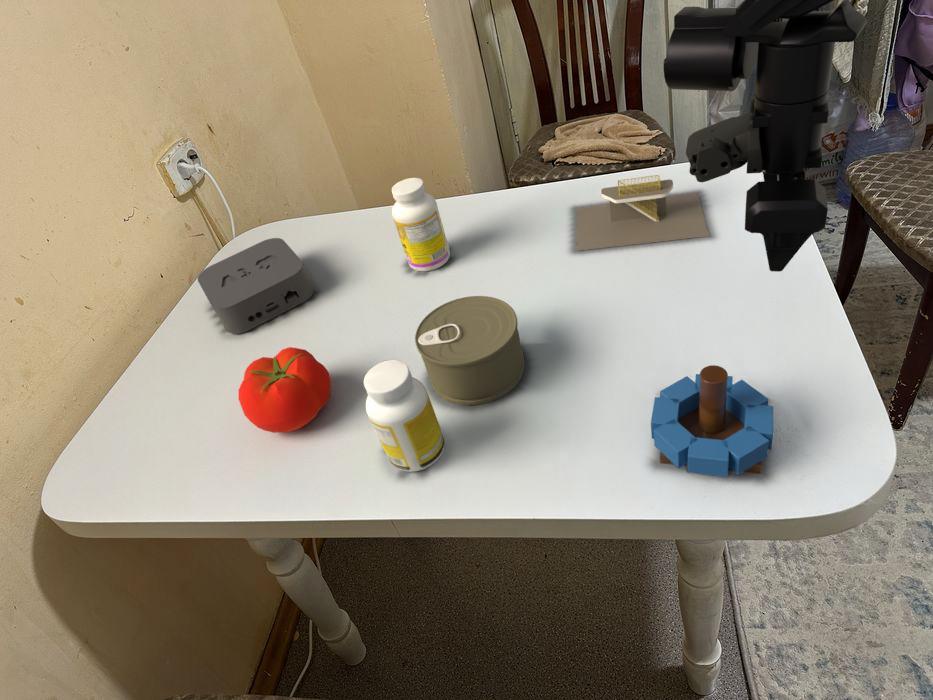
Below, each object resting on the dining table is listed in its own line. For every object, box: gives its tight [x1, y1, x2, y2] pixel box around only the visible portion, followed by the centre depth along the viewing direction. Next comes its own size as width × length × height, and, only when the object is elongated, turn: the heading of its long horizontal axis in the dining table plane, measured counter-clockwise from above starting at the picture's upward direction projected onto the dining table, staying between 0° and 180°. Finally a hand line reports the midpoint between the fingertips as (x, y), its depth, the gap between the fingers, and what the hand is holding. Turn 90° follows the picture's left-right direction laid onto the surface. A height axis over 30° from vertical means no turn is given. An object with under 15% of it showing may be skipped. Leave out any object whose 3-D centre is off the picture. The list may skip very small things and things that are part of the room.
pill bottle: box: [363, 359, 446, 473], centre depth 69 cm, size 6×6×12 cm
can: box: [414, 295, 526, 406], centre depth 78 cm, size 12×12×7 cm
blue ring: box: [650, 373, 775, 478], centre depth 64 cm, size 11×11×2 cm
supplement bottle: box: [391, 177, 451, 272], centre depth 97 cm, size 7×7×13 cm
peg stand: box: [659, 364, 763, 475], centre depth 63 cm, size 9×9×8 cm
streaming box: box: [197, 237, 315, 335], centre depth 102 cm, size 14×14×5 cm
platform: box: [576, 174, 710, 252], centre depth 95 cm, size 12×18×7 cm, turn 83°
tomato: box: [238, 346, 332, 433], centre depth 79 cm, size 11×11×8 cm
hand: (775, 243), depth 67 cm, fingers open, 9 cm apart
